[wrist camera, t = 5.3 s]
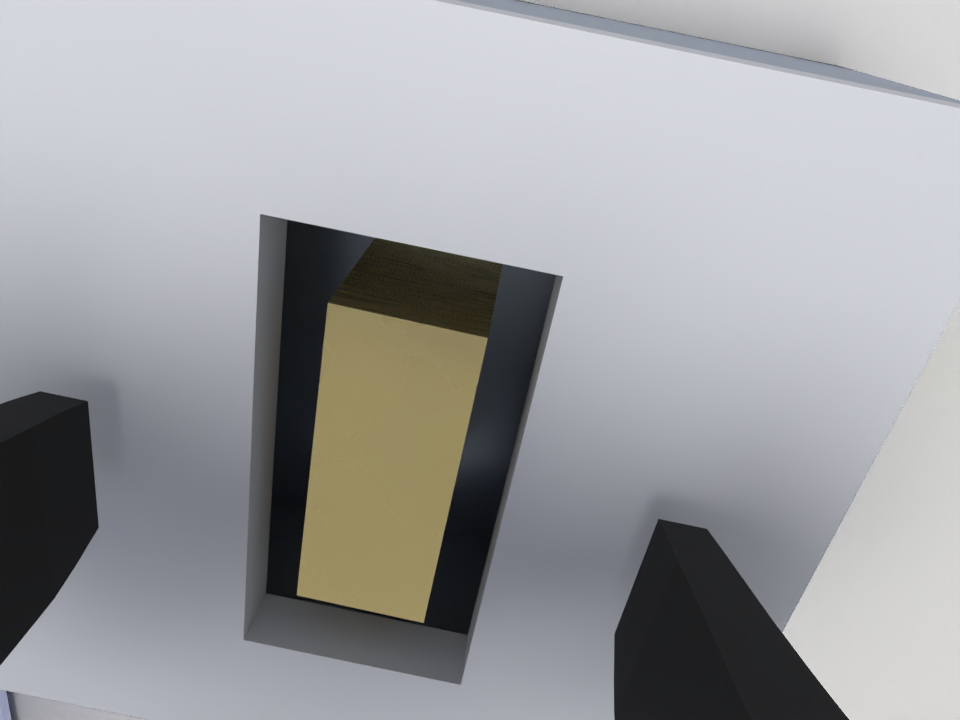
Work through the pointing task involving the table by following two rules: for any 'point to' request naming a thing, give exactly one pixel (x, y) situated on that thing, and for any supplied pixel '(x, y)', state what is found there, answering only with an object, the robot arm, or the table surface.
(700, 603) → the robot arm
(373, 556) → the block
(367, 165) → the coin box
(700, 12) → the table surface
